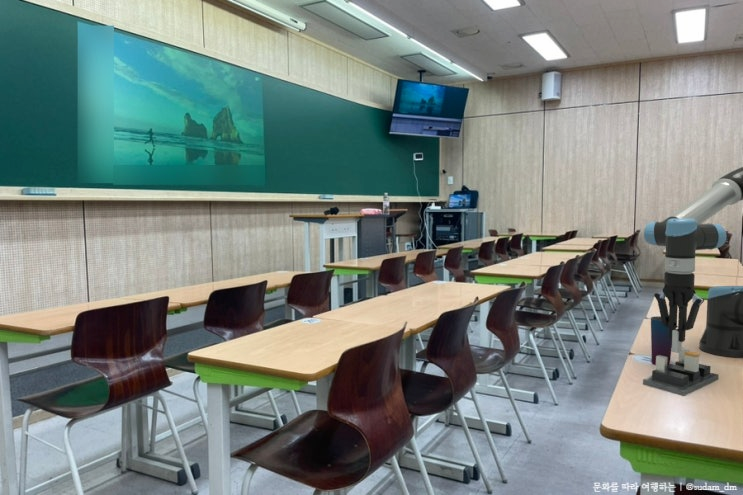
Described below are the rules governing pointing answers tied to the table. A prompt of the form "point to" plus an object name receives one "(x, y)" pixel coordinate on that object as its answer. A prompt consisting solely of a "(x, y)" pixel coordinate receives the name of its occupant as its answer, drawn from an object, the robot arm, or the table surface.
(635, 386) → the table surface
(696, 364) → the handle
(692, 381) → the panel
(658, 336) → the cup
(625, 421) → the table surface
